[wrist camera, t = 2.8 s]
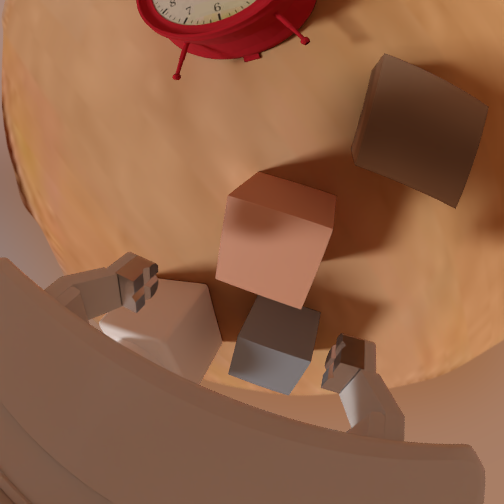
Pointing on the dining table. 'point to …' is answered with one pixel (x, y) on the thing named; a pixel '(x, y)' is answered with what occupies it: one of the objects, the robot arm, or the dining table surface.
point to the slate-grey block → (275, 345)
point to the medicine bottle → (170, 328)
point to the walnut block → (418, 130)
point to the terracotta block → (275, 237)
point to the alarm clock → (225, 25)
